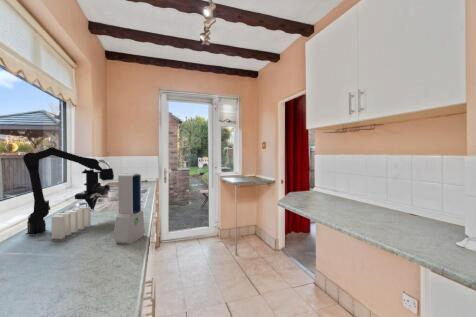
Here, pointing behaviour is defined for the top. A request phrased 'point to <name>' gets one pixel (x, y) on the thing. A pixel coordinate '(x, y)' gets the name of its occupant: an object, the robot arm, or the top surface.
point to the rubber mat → (49, 238)
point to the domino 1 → (58, 227)
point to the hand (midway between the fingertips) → (92, 209)
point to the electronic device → (129, 209)
